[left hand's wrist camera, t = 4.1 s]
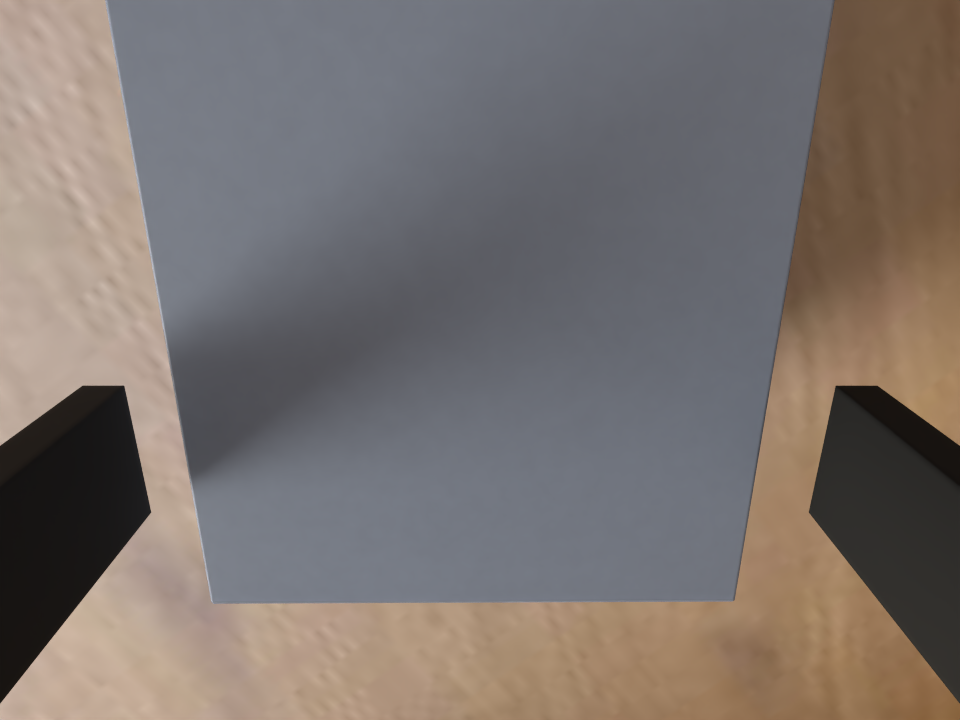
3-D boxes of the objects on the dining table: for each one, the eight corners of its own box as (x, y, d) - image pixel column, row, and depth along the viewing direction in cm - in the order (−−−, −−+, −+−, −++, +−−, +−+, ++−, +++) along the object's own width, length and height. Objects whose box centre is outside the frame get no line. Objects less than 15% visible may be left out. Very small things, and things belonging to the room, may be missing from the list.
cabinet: (245, -407, 17) (-107, -1187, 7) (697, -404, 17) (1033, -1176, 7) (319, 399, 24) (210, 605, 14) (628, 398, 24) (735, 603, 14)
